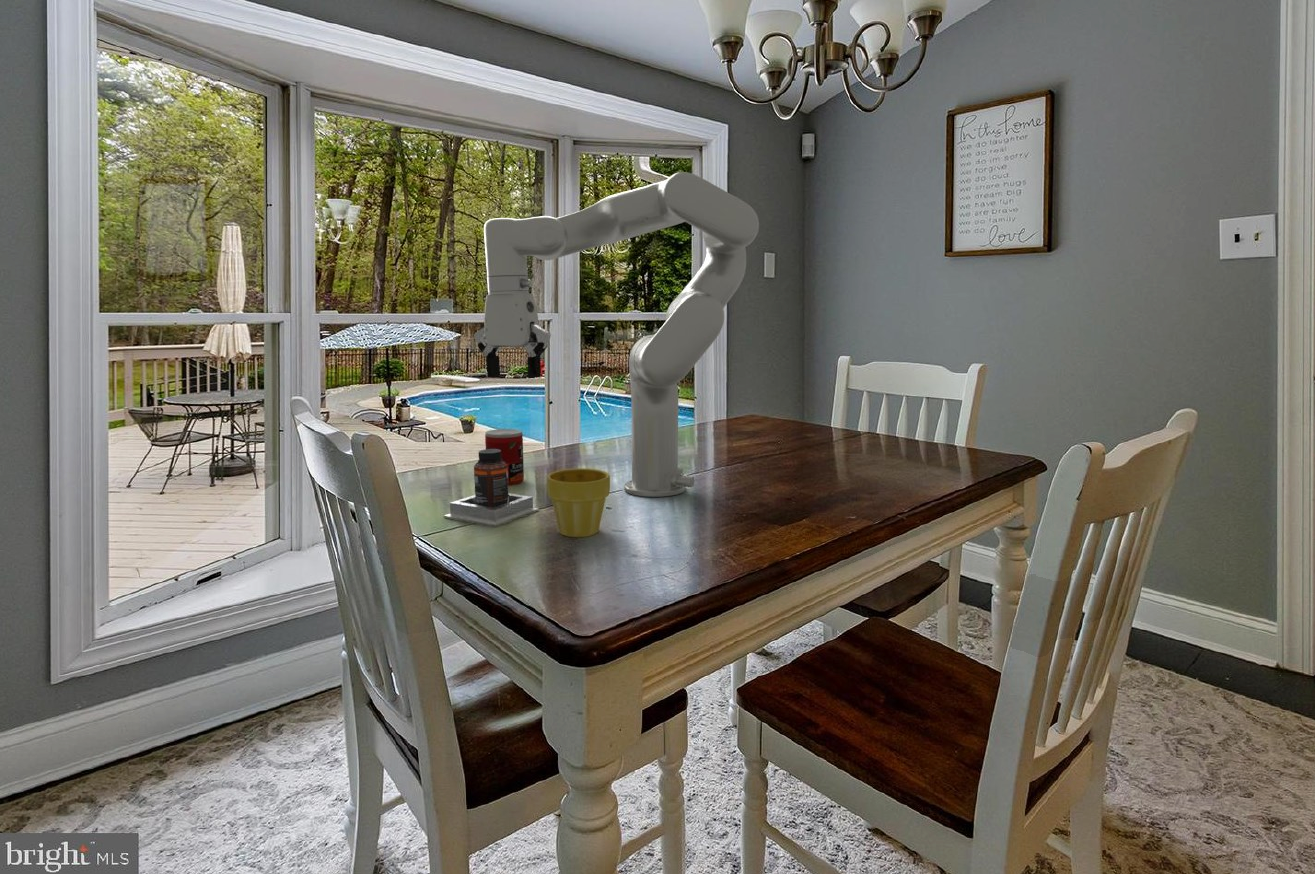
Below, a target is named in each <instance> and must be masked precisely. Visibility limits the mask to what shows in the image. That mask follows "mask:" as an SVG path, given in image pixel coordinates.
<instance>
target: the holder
mask: <svg viewBox="0 0 1315 874" xmlns="http://www.w3.org/2000/svg"><path fill="white" fill-rule="evenodd" d="M449 510H450V511H449V513H448V514H444V515H443V518H444V519H449V520H454V521H459V522H460V521H461V522H465V523H472V524H477V525H481V524H482V525H481V526H486V527H487V526H488V527H492V528H497V527H500V526H503V525H505V524H508V523H510V522H513V521H516V520H518V519H521V518H524V517H526V516H529V515H531V514H534V513H537V512H539V511H540V508H539V507H534V497H533V496H529V495H522V494H515V493H510V492H509V503H506V504H503V505H500V506H497V507H494V508H493V507H487V506H481V505H476V500H475V494H473V495H469V496H467V497H463V498H460V499H458V500H454V501H450V502H449Z"/></svg>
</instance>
